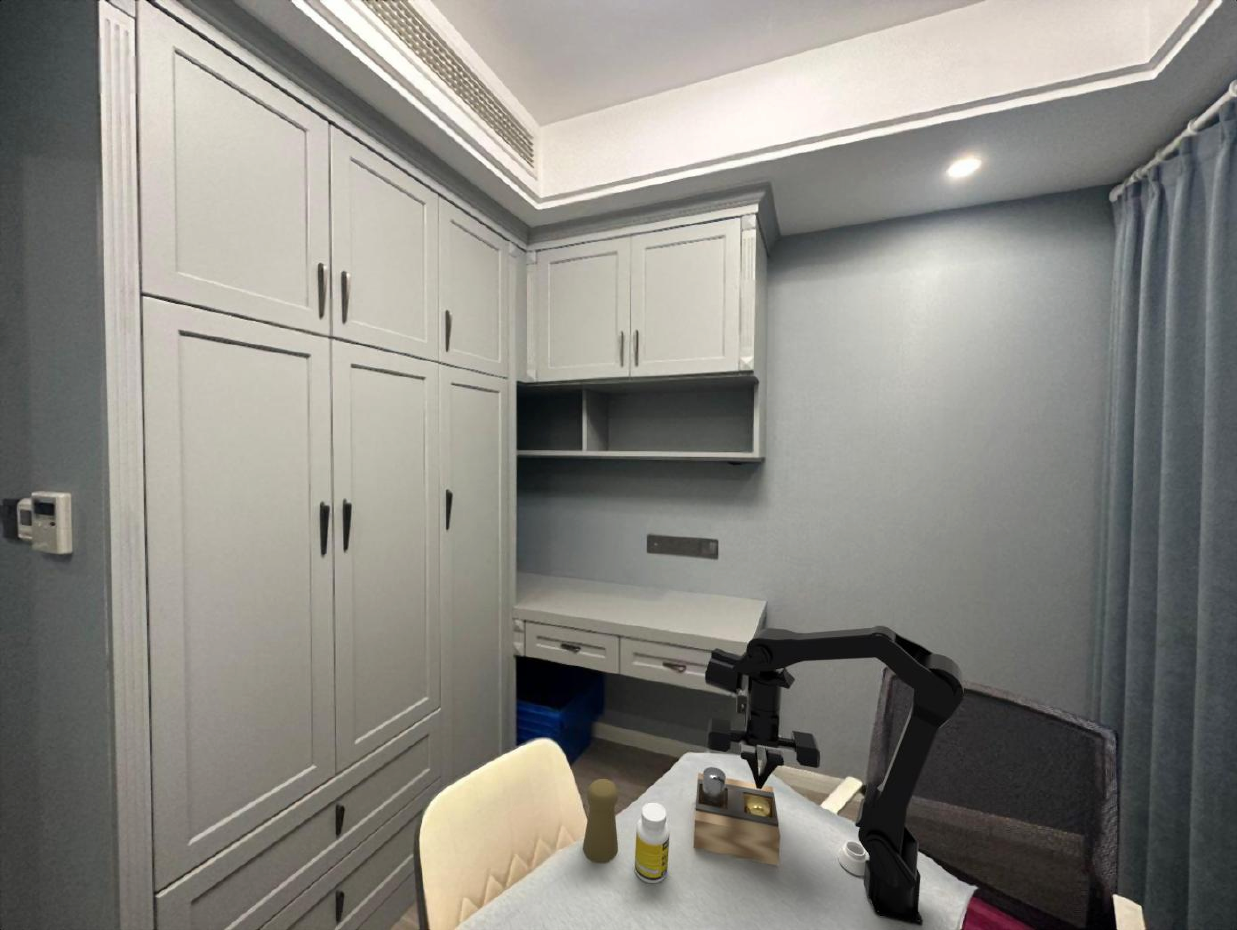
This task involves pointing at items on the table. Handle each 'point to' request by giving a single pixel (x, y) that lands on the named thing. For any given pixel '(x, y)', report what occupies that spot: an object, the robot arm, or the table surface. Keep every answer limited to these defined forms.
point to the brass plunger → (758, 807)
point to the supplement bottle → (652, 844)
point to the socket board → (738, 824)
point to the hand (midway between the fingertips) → (758, 787)
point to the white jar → (853, 857)
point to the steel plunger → (713, 787)
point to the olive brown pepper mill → (601, 822)
